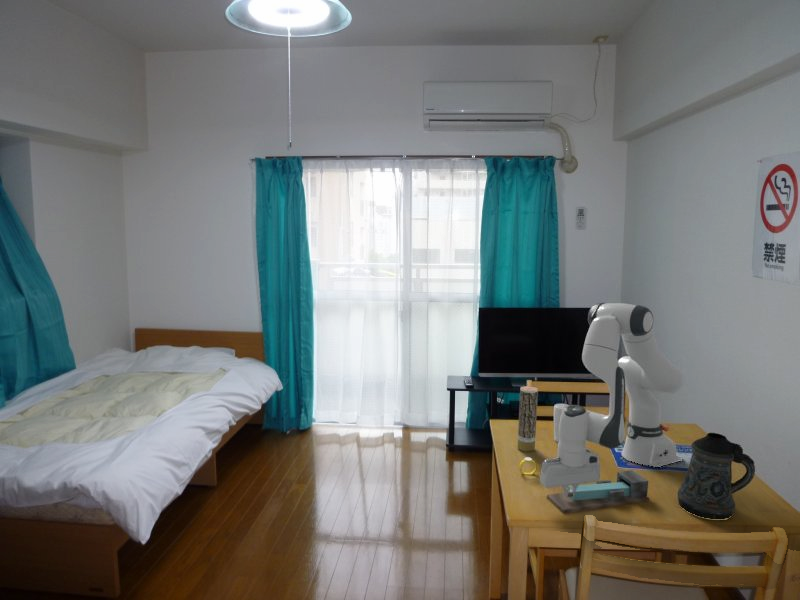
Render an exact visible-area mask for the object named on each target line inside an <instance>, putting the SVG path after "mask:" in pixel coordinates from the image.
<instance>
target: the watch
mask: <svg viewBox="0 0 800 600" xmlns="http://www.w3.org/2000/svg"><path fill="white" fill-rule="evenodd" d="M524 463H533V464H534V469H533V470H532V471H531V472H524V471H523V470H522V465H523V464H524ZM518 468H519V470H520V473H521V474H522V475H524V476H533V475H535V473H536V472H537V470H538V469H537V464H536V462H535V460H534V459H532V457H529V456H527V457H524V458H523V459H522V460H521V461H520V463H519V467H518Z"/></svg>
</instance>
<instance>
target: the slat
mask: <svg viewBox="0 0 800 600" xmlns="http://www.w3.org/2000/svg"><path fill="white" fill-rule="evenodd" d="M571 486H572V485H568V488H567V490H569V489H570V488H571ZM617 490H624V496H630V487H629V486H628V485H627V484H626V483H624V482H617V481H615V482H611V483H602V484H596V483H590V484H589V483H587V484H578V488H577V489H576V491H575V493H574V496H572V497H571V498H572V499H573V500H585V499H598V498H609V491H617Z"/></svg>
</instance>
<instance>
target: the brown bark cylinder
mask: <svg viewBox="0 0 800 600" xmlns="http://www.w3.org/2000/svg"><path fill="white" fill-rule="evenodd" d="M538 397H539V389H538V388H537V387H535V386H528V385H526V386H525V385H523V386H520V390H519V406H518V407H519V409H518V411H519V412H518V429H517V430H518V431H517V448H518V450H520V451H521V452H527V453H529V452H533V451H535V448H536V433H537V431H536V429H537V415H538Z"/></svg>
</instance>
